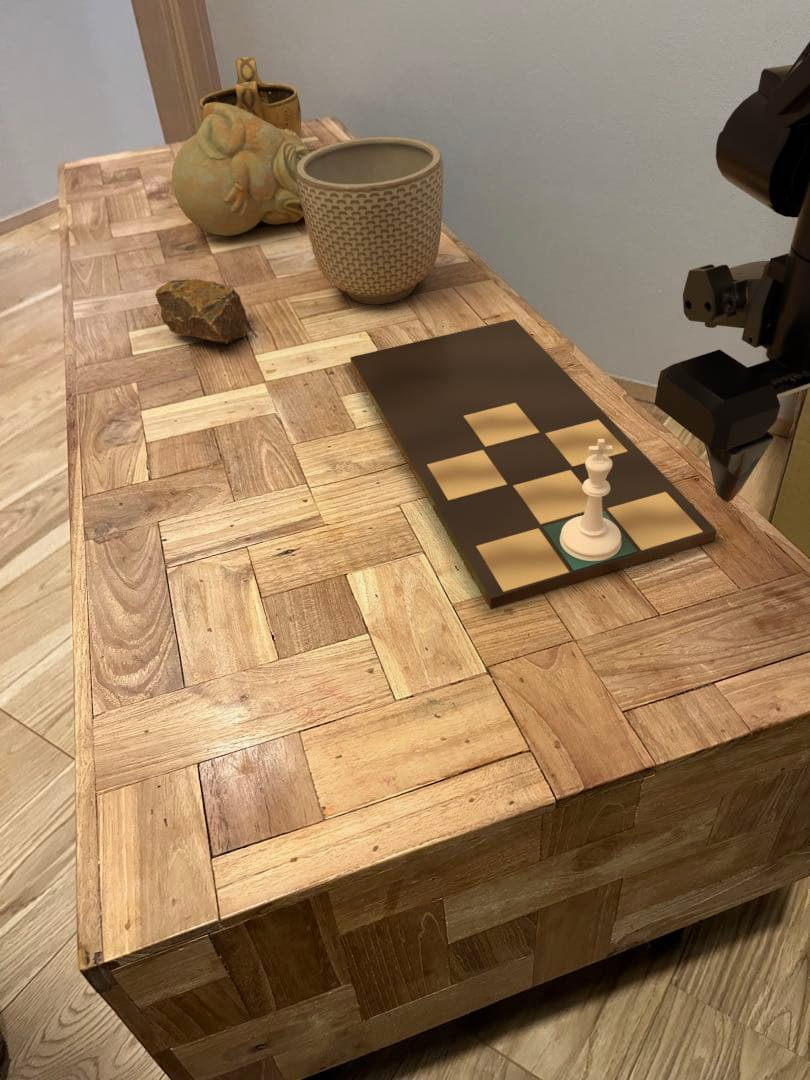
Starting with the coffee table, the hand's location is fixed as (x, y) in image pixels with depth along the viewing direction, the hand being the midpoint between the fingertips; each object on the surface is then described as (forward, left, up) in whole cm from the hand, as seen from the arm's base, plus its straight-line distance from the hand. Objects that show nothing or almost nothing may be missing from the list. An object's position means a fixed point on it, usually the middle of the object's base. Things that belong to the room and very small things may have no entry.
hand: (779, 476), depth 55 cm
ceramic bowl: (+107, -59, -12) cm, 123 cm away
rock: (+68, -9, -12) cm, 70 cm away
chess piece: (+12, +1, -11) cm, 16 cm away
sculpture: (+87, -37, -12) cm, 95 cm away
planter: (+57, -29, -12) cm, 65 cm away
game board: (+26, -9, -12) cm, 30 cm away
